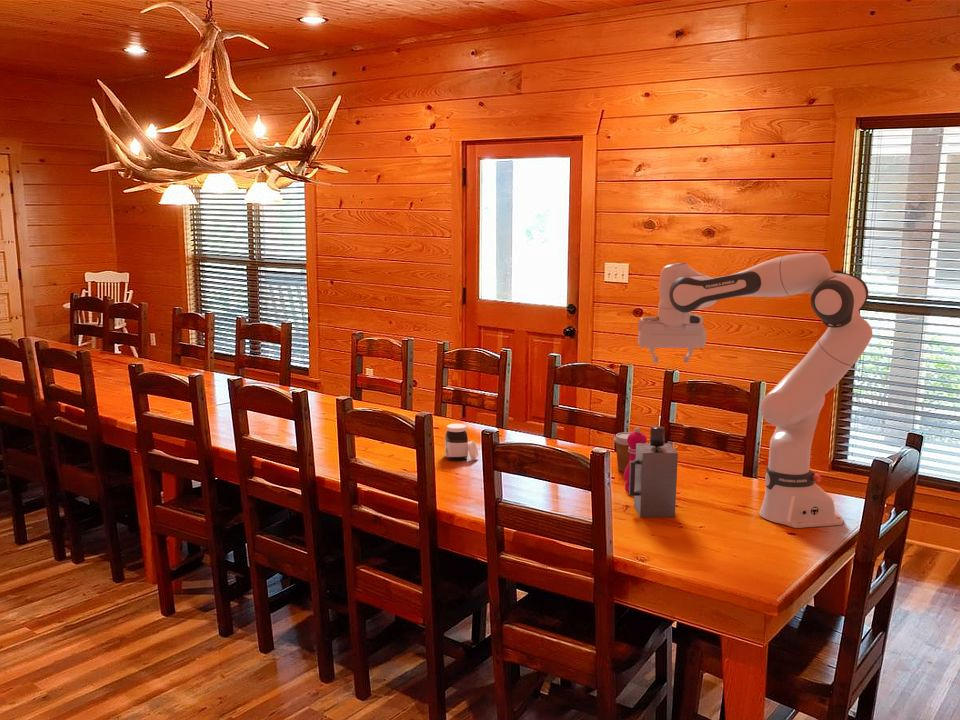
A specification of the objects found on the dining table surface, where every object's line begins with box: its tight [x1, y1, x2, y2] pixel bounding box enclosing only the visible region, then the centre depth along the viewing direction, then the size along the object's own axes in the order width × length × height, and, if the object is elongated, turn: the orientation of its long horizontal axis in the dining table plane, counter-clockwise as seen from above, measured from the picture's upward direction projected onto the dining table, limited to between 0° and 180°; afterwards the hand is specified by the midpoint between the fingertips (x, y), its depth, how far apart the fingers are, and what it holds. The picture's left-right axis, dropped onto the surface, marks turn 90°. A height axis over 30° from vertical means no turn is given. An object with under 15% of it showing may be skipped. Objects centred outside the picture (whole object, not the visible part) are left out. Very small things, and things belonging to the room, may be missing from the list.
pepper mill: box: [623, 427, 648, 492], centre depth 274 cm, size 7×7×20 cm
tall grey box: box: [628, 442, 679, 518], centre depth 254 cm, size 12×10×19 cm
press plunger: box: [649, 425, 666, 449], centre depth 253 cm, size 8×8×17 cm
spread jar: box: [444, 423, 479, 462], centre depth 306 cm, size 12×11×12 cm
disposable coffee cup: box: [613, 431, 632, 473], centre depth 294 cm, size 10×10×12 cm
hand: (670, 362), depth 266 cm, fingers open, 8 cm apart
